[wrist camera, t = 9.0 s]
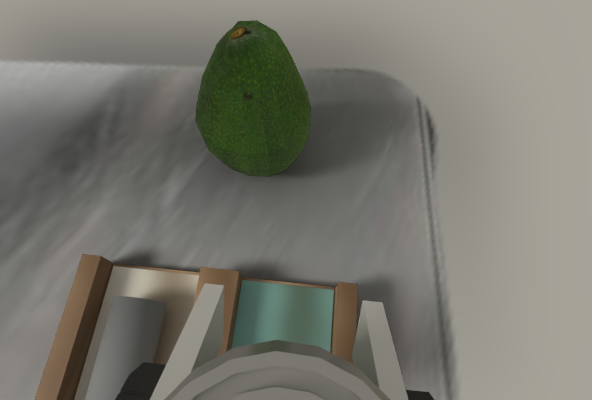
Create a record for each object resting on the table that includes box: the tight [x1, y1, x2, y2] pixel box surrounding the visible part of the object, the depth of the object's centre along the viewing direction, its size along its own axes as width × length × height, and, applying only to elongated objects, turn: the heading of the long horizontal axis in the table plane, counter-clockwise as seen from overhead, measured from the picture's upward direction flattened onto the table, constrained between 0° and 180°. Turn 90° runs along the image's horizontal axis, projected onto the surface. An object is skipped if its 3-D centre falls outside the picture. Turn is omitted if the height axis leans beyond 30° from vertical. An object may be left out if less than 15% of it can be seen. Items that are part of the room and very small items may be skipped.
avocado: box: [196, 21, 311, 176], centre depth 26 cm, size 8×8×12 cm
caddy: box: [35, 254, 358, 400], centre depth 23 cm, size 18×14×3 cm
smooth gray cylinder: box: [85, 296, 167, 400], centre depth 22 cm, size 9×3×3 cm, turn 174°
